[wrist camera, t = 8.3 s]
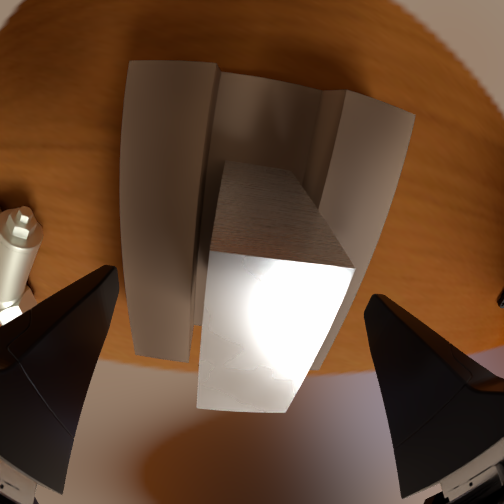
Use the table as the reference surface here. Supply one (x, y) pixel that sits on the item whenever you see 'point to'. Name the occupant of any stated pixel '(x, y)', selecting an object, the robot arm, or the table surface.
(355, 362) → the table surface
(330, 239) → the brushed metal bar
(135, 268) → the grey u-channel
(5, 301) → the pipe fitting
